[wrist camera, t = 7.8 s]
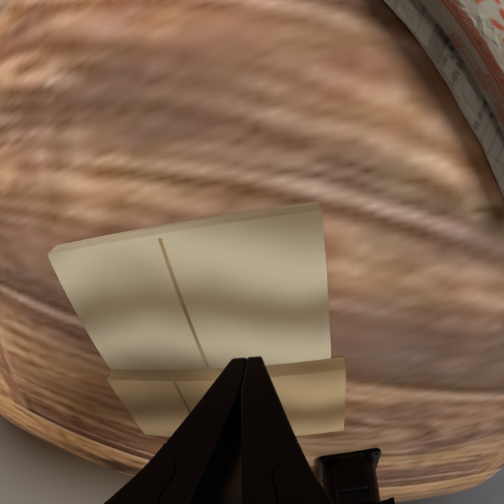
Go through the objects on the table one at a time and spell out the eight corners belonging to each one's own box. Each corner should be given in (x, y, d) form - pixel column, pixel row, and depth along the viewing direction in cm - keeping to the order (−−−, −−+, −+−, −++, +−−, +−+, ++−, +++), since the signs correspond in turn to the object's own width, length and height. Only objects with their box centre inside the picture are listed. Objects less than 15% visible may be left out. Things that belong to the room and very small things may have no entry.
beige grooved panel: (328, 345, 21) (331, 358, 19) (114, 357, 23) (109, 369, 22) (318, 201, 16) (321, 210, 15) (56, 245, 18) (46, 255, 17)
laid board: (341, 419, 24) (343, 430, 23) (147, 424, 27) (144, 435, 26) (343, 356, 21) (346, 369, 20) (111, 368, 23) (106, 379, 22)
